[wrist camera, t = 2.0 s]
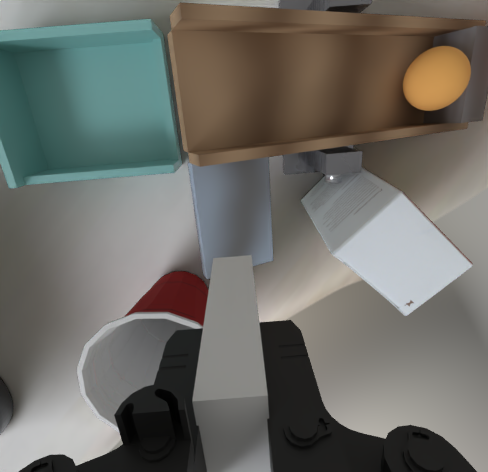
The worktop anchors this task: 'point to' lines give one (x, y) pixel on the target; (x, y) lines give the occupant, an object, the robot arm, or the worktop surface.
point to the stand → (330, 159)
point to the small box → (384, 238)
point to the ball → (436, 78)
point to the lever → (296, 100)
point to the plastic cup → (138, 343)
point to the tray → (85, 103)
